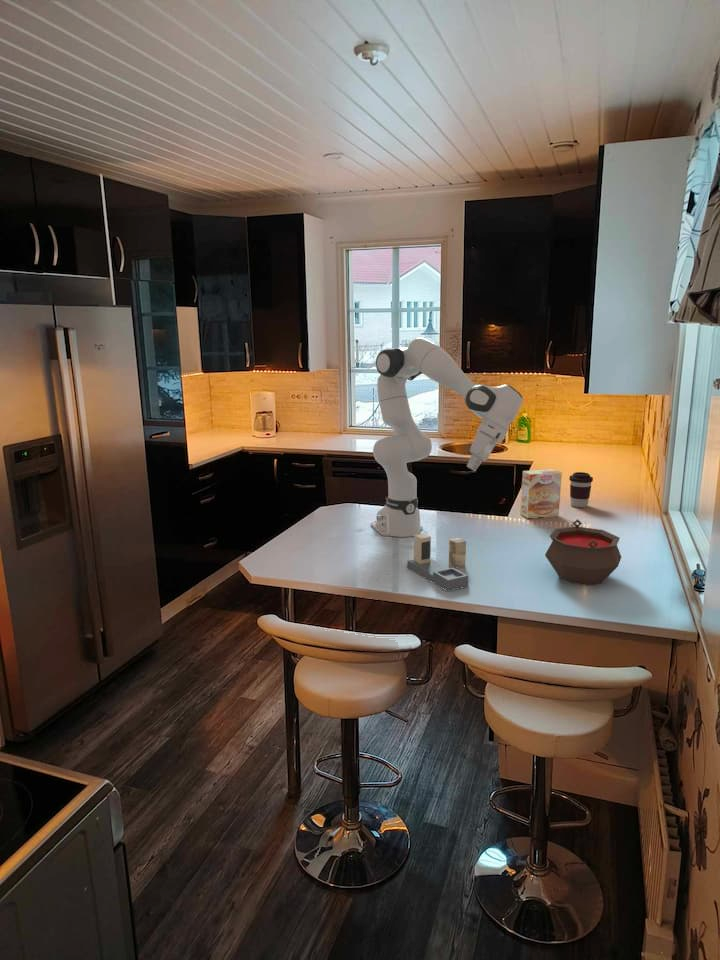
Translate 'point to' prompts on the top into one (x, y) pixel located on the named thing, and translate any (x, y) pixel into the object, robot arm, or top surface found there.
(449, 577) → the grey block holder
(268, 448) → the top surface
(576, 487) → the coffee cup
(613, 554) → the brown cauldron
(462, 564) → the block
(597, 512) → the top surface
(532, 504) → the coffeecake box
